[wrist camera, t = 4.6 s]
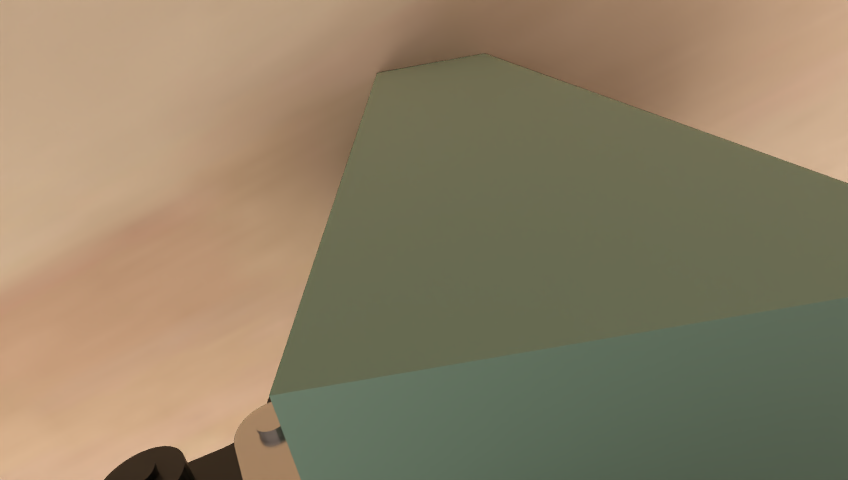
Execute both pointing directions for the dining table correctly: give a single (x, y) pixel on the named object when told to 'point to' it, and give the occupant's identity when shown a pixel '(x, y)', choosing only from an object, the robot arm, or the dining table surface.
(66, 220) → the dining table surface
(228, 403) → the dining table surface
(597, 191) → the green book
